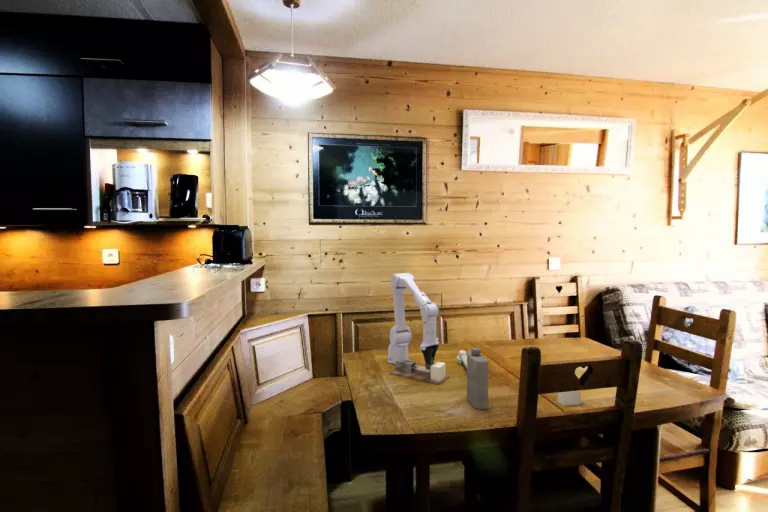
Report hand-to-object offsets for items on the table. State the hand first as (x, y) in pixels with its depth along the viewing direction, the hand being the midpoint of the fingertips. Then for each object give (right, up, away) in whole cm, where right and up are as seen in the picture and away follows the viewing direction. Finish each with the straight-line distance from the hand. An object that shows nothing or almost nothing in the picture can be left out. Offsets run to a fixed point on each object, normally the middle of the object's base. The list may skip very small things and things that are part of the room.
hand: (429, 362), depth 171 cm
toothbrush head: (+19, -7, +11) cm, 23 cm away
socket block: (+3, -7, -2) cm, 8 cm away
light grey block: (+49, -8, -26) cm, 56 cm away
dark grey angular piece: (-3, -5, +2) cm, 6 cm away
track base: (-4, -7, +3) cm, 9 cm away
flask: (+15, -8, -24) cm, 29 cm away
